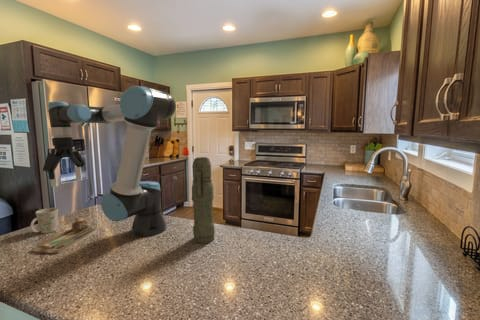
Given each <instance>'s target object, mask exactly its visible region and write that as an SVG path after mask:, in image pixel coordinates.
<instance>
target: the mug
mask: <svg viewBox="0 0 480 320" xmlns="http://www.w3.org/2000/svg"><path fill="white" fill-rule="evenodd" d="M58 217H59V208H58V207H46V208H42V209H38V210H37V211H35V218H33V219H32V220H31V222H30V225H29V226H30V227H29V228H30V231H31V232H33V233H39V232H41V234H49V233H53V232H56V231H57V230H58V222H59V220H58V219H59V218H58ZM36 222H37V223H38V227H39V229H35V227H34V224H35V223H36Z"/></svg>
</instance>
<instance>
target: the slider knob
mask: <svg viewBox="0 0 480 320" xmlns="http://www.w3.org/2000/svg"><path fill="white" fill-rule="evenodd" d="M87 226H89V227H91V226H92V225H91V224H90V223H88V221H87V220H84V218H83V217H78V218H75V220H74V222H73V223H71V227H72V228H71V229H73V232H77V233H79V232H81V231H83V230H85V229H87Z"/></svg>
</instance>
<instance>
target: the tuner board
mask: <svg viewBox="0 0 480 320" xmlns="http://www.w3.org/2000/svg"><path fill="white" fill-rule="evenodd" d="M96 233H98V229H97V228H93V227H92V226H87V229H85V230H83V231H81V232H79V233H77V232H73V229H72V228H70V229H68V230H66V231H64V232H61V233H60V234H57V235H55V236H53V237H51V238H48V239H47V240H45V241H42V242H40V243H39V244H37V245H34V246H32V247H31V251H32V252H37V253H38V252H39V253H49V254H50V253H51V254H60V253H62V252H63V251H66V250H67V249H69V248H71V247H73V246H75V245H76V244H79V243H80V242H82V241H84V240H86V239H87V238H89V237H90V236H93V235H95V234H96Z"/></svg>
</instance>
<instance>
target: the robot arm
mask: <svg viewBox="0 0 480 320" xmlns="http://www.w3.org/2000/svg"><path fill="white" fill-rule="evenodd" d="M47 107H48V108H47V109H48V110H47V112H48V119H49V125H50V132H51V137H52V139H51V141H52V142H51V143H52V146H53V147H54V148H48V149H47V156H46V158H45V162H44V165H43V168H42V171H43V172H46V173H48V179H49V181H50V187H51V188H52V187H53V188H54V187H56V188H57V187H59V183H58V175H57V174H58V173H57V171H55V170H56V169H57V168H58V165H59V163H60V162H61V160H63V158H64V159H65V158H68V159H69V160H70V161H71V163H73V164H74V166H75V167H74V171H75V180H76V181H83V168H82V167H85V165H86V163H85V161H84V158H83V157H82V155H81V153H80V151H79V148H78V146H73V145H74V141H73V140H74V139H73V137H72V136H73V129H72V124H75V123H80V124H82V123H84V124H112V123H114V122H123V121H124V122H125V123H126V125H127V126H126V131H125V136H124V141H123V145H122V146H123V147H122V151H121V157H120V160H119V166H118V171H117V176H116V181H115V182H113V183H112V184H111V185H110V189H109V193H106V194H105V195H103V196H102V198H101V200H100V207H101V210H102V212H103V214H104V215H105V217H106V218H107V219H109V220H110V221H112V222H115V223H116V222H117V223H118V222H121V221H126V220H127V219H129V218H132V217H133V216H134V218H133V221H132V225H131V234H132V235H133V236H135V237H150V236H155V235H158V234H160V233H162V232H164V231H165V230H166V229H167V222H166V219H165V218H164V215H163V213H162V198H161V192H162V190H161V185H160V183H159V182H158V181H150V180H149V181H148V180H145V181H142V180H141V179H142V174H143V169H144V165H145V161H146V156H147V153H148V148H149V143H150V139H151V134H152V131H153V130H155V129H156V128H158V123H159V121H163V120H165V121H166V120H168V119H170V118H171V117H172V116H173V115H174V114H175V112H176V101H175V99H174V97H173V96H172V95H171V94H170V93H169V92H166V91H164V90H159V89H156V88H152V87H151V88H150V87H147V86H143V85H142V86H140V85H132V86H130V87H128V88H126V89H125V90H124V91H123V93H122V94H121V96H120V99H119V103H118V104H113V105H106V106H90V105H89V106H88V105H85V104H82V103H81V104H79V103H75V104H69V103H68V102H66V101H50V102H48V104H47Z"/></svg>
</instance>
